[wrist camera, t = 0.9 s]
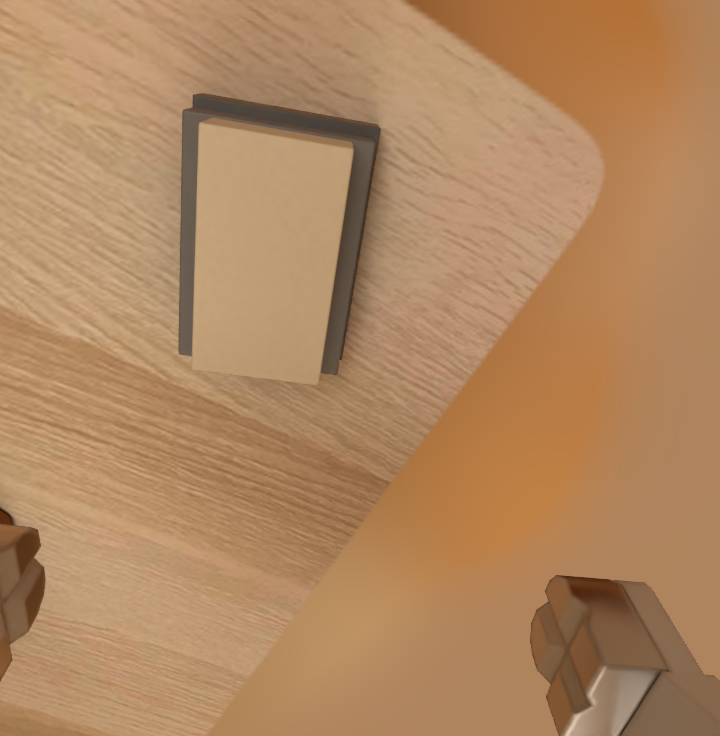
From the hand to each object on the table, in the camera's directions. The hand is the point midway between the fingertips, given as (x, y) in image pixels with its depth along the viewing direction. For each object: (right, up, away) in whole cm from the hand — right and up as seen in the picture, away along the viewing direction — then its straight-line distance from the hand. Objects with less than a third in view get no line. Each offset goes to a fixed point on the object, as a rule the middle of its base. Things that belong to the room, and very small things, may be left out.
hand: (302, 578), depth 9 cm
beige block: (-2, +8, +13) cm, 15 cm away
